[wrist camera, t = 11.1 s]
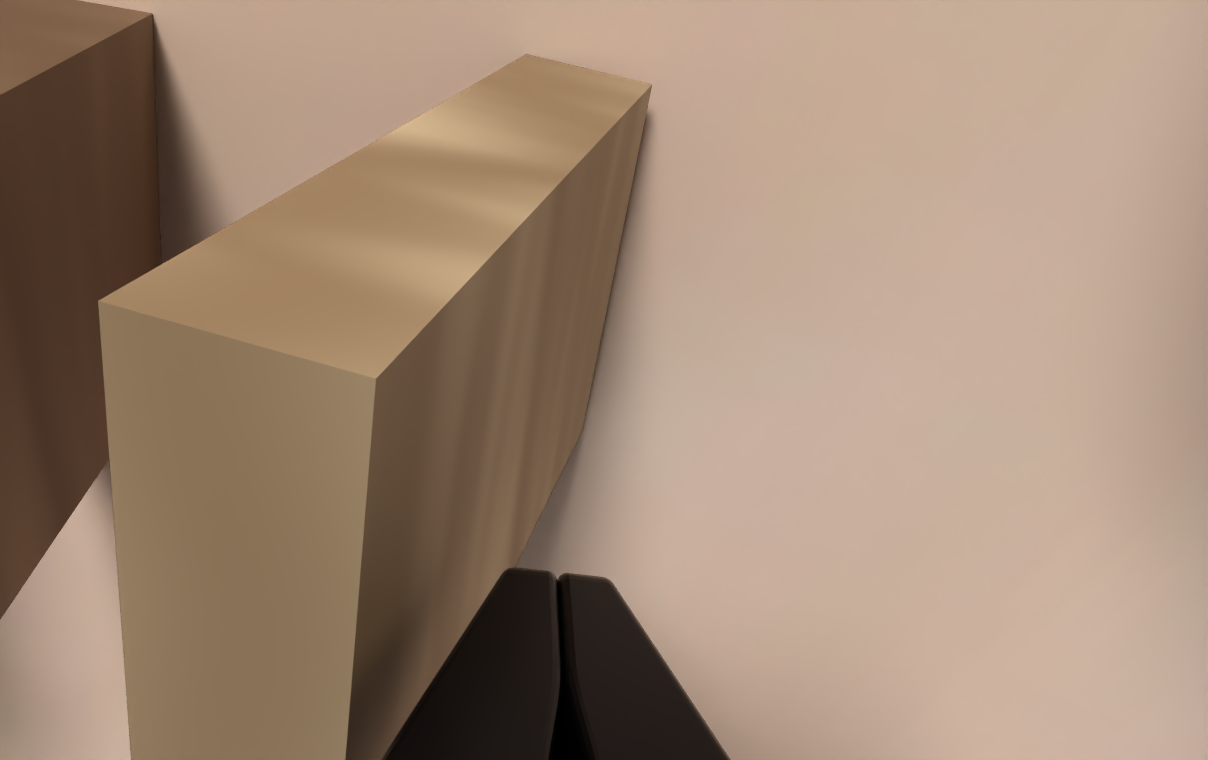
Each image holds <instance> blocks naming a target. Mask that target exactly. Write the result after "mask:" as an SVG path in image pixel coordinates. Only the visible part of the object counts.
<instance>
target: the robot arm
mask: <svg viewBox="0 0 1208 760" xmlns="http://www.w3.org/2000/svg"><path fill="white" fill-rule="evenodd" d="M381 760H730V758H729V757H728V755H727V754H726V752H725V751H724V749H723V748H722V746H721V745H720V743H719V742H718V740H717V739H716V737H715V736H714V734H713V733H712V731H711V730H710V728H709V727H708V725H707V724H706V722H705V721H704V719H703V718H702V716H701V715H700V713H699V712H698V710H697V709H696V707H695V706H694V704H693V703H692V701H691V700H690V698H689V697H688V695H687V694H686V692H685V691H684V689H683V688H682V686H681V685H680V683H679V682H678V680H677V679H676V677H675V676H674V674H673V673H672V671H671V670H670V668H669V667H668V665H667V664H666V662H665V661H664V659H663V658H662V656H661V655H660V653H659V652H658V650H657V649H656V647H655V646H654V644H653V643H652V641H651V640H650V638H649V637H648V635H647V634H646V632H645V631H644V629H643V628H642V626H641V625H640V623H639V622H638V620H637V619H636V617H635V616H634V614H633V613H632V611H631V610H630V608H629V607H628V605H627V604H626V602H625V601H624V599H623V598H622V596H621V595H620V593H619V592H618V590H617V589H616V587H615V586H614V584H613V583H612V582H611V581H610V580H608V579H607V578H604V577H598V576H589V575H579V574H570V573H565V574H563V575H561V576H560V577H559V578H558V580H557V579H556V577H555V575H554V574H553V573H552V572H549V571H542V570H533V569H523V568H514V567H513V568H508V569H506V570H505V571H504V572H503V573H502V574H501V575H500V577H499V579H498V580H497V582H496V583H495V585H494V586H493V588H492V589H491V591H490V592H489V594H488V595H487V597H486V599H485V600H484V602H483V603H482V605H481V606H480V608H479V609H478V611H477V612H476V614H475V615H474V617H473V618H472V620H471V622H470V623H469V625H468V626H467V628H466V629H465V631H464V632H463V634H462V635H461V637H460V638H459V640H458V642H457V643H456V645H455V646H454V648H453V649H452V651H451V652H450V654H449V655H448V657H447V658H446V660H445V662H444V663H443V665H442V666H441V668H440V669H439V671H438V672H437V674H436V675H435V677H434V678H433V680H432V682H431V683H430V685H429V686H428V688H427V689H426V691H425V692H424V694H423V695H422V697H421V698H420V700H419V702H418V703H417V705H416V706H415V708H414V709H413V711H412V712H411V714H410V715H409V717H408V718H407V720H406V721H405V723H404V725H403V726H402V728H401V729H400V731H399V732H398V734H397V735H396V737H395V738H394V740H393V741H392V743H391V745H390V746H389V748H388V749H387V751H386V752H385V754H384V755H383V757H382V758H381Z"/></svg>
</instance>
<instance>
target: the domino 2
mask: <svg viewBox="0 0 1208 760" xmlns="http://www.w3.org/2000/svg"><path fill="white" fill-rule="evenodd" d="M651 88H652V84H649V83H645V82H640V81H636V80H632V79H628V78H624V77H619V76H615V75H611V74H607V73H603V72H598V71H594V70H590V69H586V68H582V67H577V66H573V65H569V64H565V63H561V62H556V61H552V60H548V59H544V58H540V57H536V56H531V55H527V54H526V55H524V56H522V57H521V58H519V59H517V60H515V61H514V62H512V63H510V64H508V65H507V66H505V67H503V68H502V69H500V70H498V71H496V72H495V73H493V74H491V75H489V76H488V77H486V78H484V79H482V80H481V81H479V82H477V83H476V84H474V85H472V86H470V87H469V88H467V89H465V90H463V91H462V92H460V93H458V94H456V95H455V96H453V97H451V98H449V99H448V100H446V101H444V102H443V103H441V104H439V105H437V106H436V107H434V108H432V109H430V110H429V111H427V112H425V113H423V114H422V115H420V116H418V117H417V118H415V119H413V120H411V121H410V122H408V123H406V124H404V125H403V126H401V127H399V128H397V129H396V130H394V131H392V132H390V133H389V134H387V135H385V136H384V137H382V138H380V139H378V140H377V141H375V142H373V143H371V144H370V145H368V146H366V147H364V148H363V149H361V150H359V151H357V152H356V153H354V154H352V155H351V156H349V157H347V158H345V159H344V160H342V161H340V162H338V163H337V164H335V165H333V166H331V167H330V168H328V169H326V170H325V171H323V172H321V173H319V174H318V175H316V176H314V177H312V178H311V179H309V180H307V181H305V182H304V183H302V184H300V185H298V186H297V187H295V188H293V189H292V190H290V191H288V192H286V193H285V194H283V195H281V196H279V197H278V198H276V199H274V200H272V201H271V202H269V203H267V204H266V205H264V206H262V207H260V208H259V209H257V210H255V211H253V212H252V213H250V214H248V215H246V216H245V217H243V218H241V219H239V220H238V221H236V222H234V223H233V224H231V225H229V226H227V227H226V228H224V229H222V230H220V231H219V232H217V233H215V234H213V235H212V236H210V237H208V238H207V239H205V240H203V241H201V242H200V243H198V244H196V245H194V246H193V247H191V248H189V249H187V250H186V251H184V252H182V253H180V254H179V255H177V256H175V257H174V258H172V259H170V260H168V261H167V262H165V263H163V264H161V265H160V266H158V267H156V268H154V269H153V270H151V271H149V272H148V273H146V274H144V275H142V276H141V277H139V278H137V279H135V280H134V281H132V282H130V283H128V284H127V285H125V286H123V287H121V288H120V289H118V290H116V291H115V292H113V293H111V294H109V295H108V296H106V297H104V298H102V299H101V300H99V301H98V306H99V320H100V334H101V348H102V362H103V376H104V389H105V403H106V417H107V431H108V445H109V459H110V473H111V487H112V501H113V515H114V528H115V542H116V556H117V570H118V584H119V598H120V612H121V626H122V640H123V654H124V667H125V681H126V695H127V709H128V723H129V737H130V751H131V760H381V758H382V757H383V755H384V754H385V752H386V751H387V749H388V748H389V746H390V745H391V743H392V741H393V740H394V738H395V737H396V735H397V734H398V732H399V731H400V729H401V728H402V726H403V725H404V723H405V721H406V720H407V718H408V717H409V715H410V714H411V712H412V711H413V709H414V708H415V706H416V705H417V703H418V702H419V700H420V698H421V697H422V695H423V694H424V692H425V691H426V689H427V688H428V686H429V685H430V683H431V682H432V680H433V678H434V677H435V675H436V674H437V672H438V671H439V669H440V668H441V666H442V665H443V663H444V662H445V660H446V658H447V657H448V655H449V654H450V652H451V651H452V649H453V648H454V646H455V645H456V643H457V642H458V640H459V638H460V637H461V635H462V634H463V632H464V631H465V629H466V628H467V626H468V625H469V623H470V622H471V620H472V618H473V617H474V615H475V614H476V612H477V611H478V609H479V608H480V606H481V605H482V603H483V602H484V600H485V599H486V597H487V595H488V594H489V592H490V591H491V589H492V588H493V586H494V585H495V583H496V582H497V580H498V579H499V577H500V575H501V574H502V573H503V572H504V571H505V570H506V569H508V568H513V567H514V568H515V566H516V564H517V562H518V560H519V558H520V556H521V554H522V552H523V550H524V548H525V545H526V543H527V541H528V539H529V537H530V535H531V533H532V531H533V529H534V527H535V525H536V523H537V521H538V519H539V517H540V515H541V513H542V511H543V509H544V507H545V505H546V503H547V501H548V499H549V497H550V495H551V493H552V490H553V488H554V486H555V484H556V482H557V480H558V478H559V476H560V474H561V472H562V470H563V468H564V466H565V464H566V462H567V460H568V458H569V456H570V454H571V452H572V450H573V448H574V446H575V444H576V442H577V440H578V438H579V436H580V433H581V431H582V429H583V425H584V420H585V415H586V410H587V405H588V400H589V395H590V390H591V385H592V380H593V375H594V370H595V365H596V360H597V355H598V350H599V345H600V340H601V336H602V331H603V326H604V321H605V316H606V311H607V306H608V301H609V296H610V291H611V286H612V281H613V276H614V271H615V266H616V261H617V256H618V251H619V246H620V241H621V236H622V231H623V226H624V222H625V217H626V212H627V207H628V202H629V197H630V192H631V187H632V182H633V177H634V172H635V167H636V162H637V157H638V152H639V147H640V142H641V137H642V132H643V127H644V122H645V117H646V113H647V108H648V103H649V98H650V93H651Z"/></svg>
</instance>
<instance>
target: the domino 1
mask: <svg viewBox="0 0 1208 760" xmlns="http://www.w3.org/2000/svg"><path fill="white" fill-rule="evenodd" d="M160 265H161V243H160V215H159V187H158V158H157V130H156V102H155V73H154V45H153V16H152V13H146V12H141V11H135V10H129V9H123V8H118V7H112V6H106V5H100V4H95V3H89V2H83V1H78V0H0V619H1V618H2V616H3V615H4V613H5V612H6V610H7V609H8V607H9V606H10V604H11V603H12V601H13V600H14V598H15V597H16V595H17V594H18V592H19V591H20V590H21V588H22V587H23V585H24V584H25V582H26V581H27V579H28V578H29V576H30V575H31V573H32V572H33V570H34V569H35V567H36V566H37V564H38V563H39V561H40V560H41V558H42V557H43V556H44V554H45V553H46V551H47V550H48V548H49V547H50V545H51V544H52V542H53V541H54V539H55V538H56V536H57V535H58V533H59V532H60V530H61V529H62V527H63V526H64V524H65V523H66V522H67V520H68V519H69V517H70V516H71V514H72V513H73V511H74V510H75V508H76V507H77V505H78V504H79V502H80V501H81V499H82V498H83V496H84V495H85V493H86V492H87V491H88V489H89V488H90V486H91V485H92V483H93V482H94V480H95V479H96V477H97V476H98V474H99V473H100V471H101V470H102V468H103V467H104V465H105V464H106V462H107V461H108V459H109V445H108V431H107V417H106V403H105V389H104V376H103V362H102V348H101V334H100V320H99V306H98V301H99V300H101V299H102V298H104V297H106V296H108V295H109V294H111V293H113V292H115V291H116V290H118V289H120V288H121V287H123V286H125V285H127V284H128V283H130V282H132V281H134V280H135V279H137V278H139V277H141V276H142V275H144V274H146V273H148V272H149V271H151V270H153V269H154V268H156V267H158V266H160Z"/></svg>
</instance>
